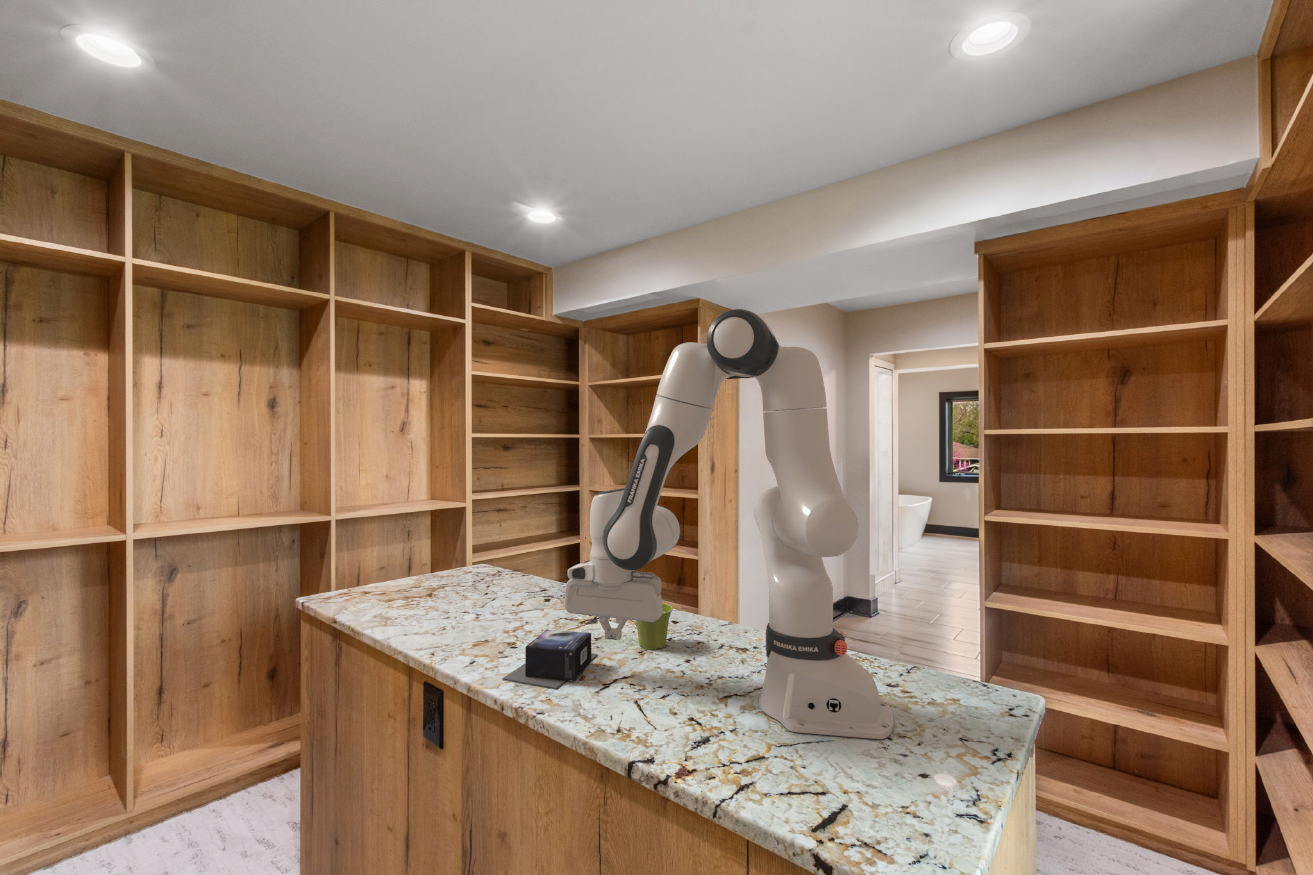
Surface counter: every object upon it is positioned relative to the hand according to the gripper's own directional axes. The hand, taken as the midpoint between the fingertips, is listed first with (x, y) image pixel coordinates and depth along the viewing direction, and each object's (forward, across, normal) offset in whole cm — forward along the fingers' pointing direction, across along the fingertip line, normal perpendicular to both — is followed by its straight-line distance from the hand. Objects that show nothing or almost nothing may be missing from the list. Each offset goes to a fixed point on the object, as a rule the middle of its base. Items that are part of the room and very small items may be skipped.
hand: (613, 638), depth 114 cm
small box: (+4, +6, +1) cm, 7 cm away
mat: (+7, +14, +1) cm, 15 cm away
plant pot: (+8, -1, -19) cm, 20 cm away
